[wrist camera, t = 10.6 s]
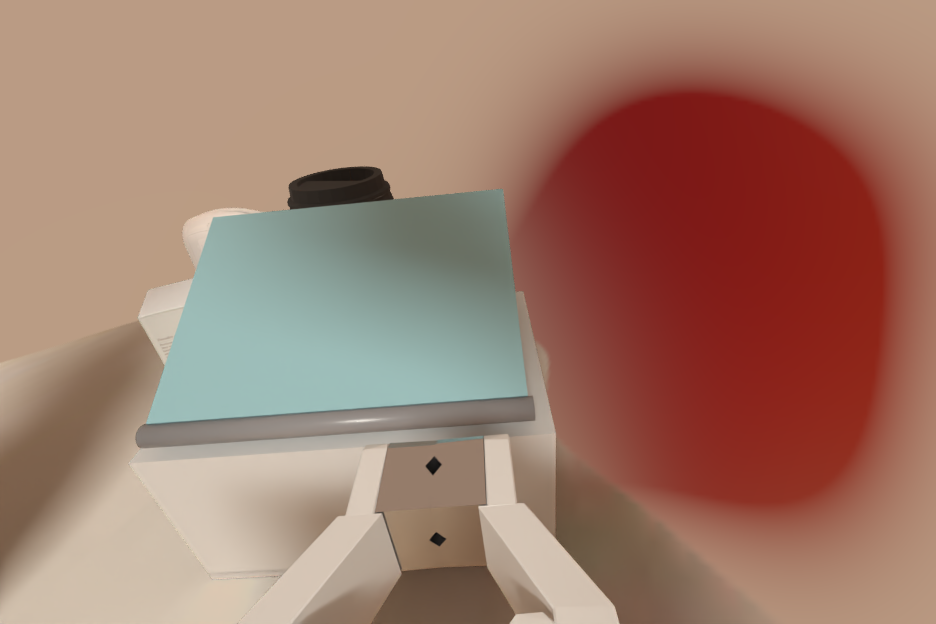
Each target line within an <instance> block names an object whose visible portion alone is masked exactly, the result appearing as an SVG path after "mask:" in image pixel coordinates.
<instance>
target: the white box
mask: <svg viewBox="0 0 936 624" xmlns="http://www.w3.org/2000/svg"><path fill="white" fill-rule="evenodd" d="M515 293H516V302H517V310H518V318H519V326H520V335H521V343H522V351H523V359H524V368H525V376H526V384H527V392H528V396H533V399H534V407H535V421H524V422H510V423H496V424H482V425H468V426H454V427H440V428H426V429H412V430H398V431H384V432H370V433H356V434H342V435H328V436H314V437H300V438H285V439H271V440H257V441H243V442H229V443H215V444H201V445H187V446H173V447H159V448H145V449H142V448H140V450H139V451H138V452H137V453H136V455H135V456H134V457H133V458H132V459H131V461H130V462H129V463H128V464H129V465H130V467H131V468H132V469H133V471H134V472H135V474H136V475H137V476H138V478H139V479H140V481H141V482H142V483H143V485H144V486H145V487H146V489H147V490H148V492H149V493H150V494H151V496H152V497H153V498H154V500H155V501H156V503H157V504H158V505H159V507H160V508H161V510H162V511H163V512H164V514H165V515H166V516H167V518H168V519H169V521H170V522H171V523H172V525H173V526H174V527H175V529H176V530H177V532H178V533H179V534H180V536H181V537H182V539H183V540H184V541H185V543H186V544H187V545H188V547H189V548H190V550H191V551H192V552H193V554H194V555H195V556H196V558H197V559H198V561H199V562H200V563H201V565H202V566H203V568H204V569H205V570H206V572H207V573H208V574H209V576H210V577H211V579H230V578H248V577H267V576H282V575H283V574H284V573H285V572H286V571H287V570H288V569H289V568H290V567H291V566H292V565H293V563H294V562H295V561H296V560H297V559H298V558H299V557H300V556H301V555H302V554H303V553H304V552H305V551H306V550H307V549H308V547H309V546H310V545H311V544H312V543H313V542H314V541H315V540H316V539H317V538H318V537H319V536H320V535H321V534H322V533H323V531H324V530H325V529H326V528H327V527H328V526H329V525H330V524H331V523H332V522H333V521H334V520H335V519H336V518H337V517H338V516H345V514H346V511H347V507H348V503H349V499H350V495H351V492H352V488H353V484H354V480H355V476H356V473H357V469H358V465H359V461H360V457H361V454H362V451H363V449H364V448H365V446H366V445H371V444H389V443H400V442H418V441H437V440H442V439H453V438H464V437H475V436H487V435H499V434H508V435H509V438H510V446H511V455H512V464H513V472H514V481H515V490H516V498H517V503H525V504H526V505H527V506H528V507H529V508H530V510H531V511H532V512H533V513H534V514H535V515H536V516H537V518H538V519H539V520H540V521H541V522H542V523H543V524H544V526H545V527H546V528H547V529H548V530H549V531H550V532H551V534H552V535H553V536H554V537H555V524H556V431H555V427H554V423H553V418H552V414H551V410H550V405H549V401H548V397H547V392H546V388H545V384H544V379H543V375H542V371H541V366H540V362H539V357H538V353H537V349H536V344H535V340H534V336H533V331H532V327H531V323H530V318H529V314H528V310H527V305H526V301H525V297H524V292H523V291H520V292H515Z"/></svg>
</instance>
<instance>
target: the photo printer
mask: <svg viewBox="0 0 936 624" xmlns="http://www.w3.org/2000/svg"><path fill="white" fill-rule="evenodd" d="M252 213H262V212H261V211H257V210H251V209H243V208H221V209H216V210H212V211H208V212H206V213H203V214H201V215H198V216H195V217H193V218H191V219H189V220H188V221H186V222H185V224H184V227H183V232H182V234H183V242H184V245H185V247H186V249H187V251H188V254H189V256H190V258H191V260H192V263H193V265H194V267H195V269H197V265H198V262H199V259H200V256H201V253H202V250H203V247H204V244H205V241H206V238H207V235H208V232H209V229H210V225H211V222H212V219H213V217H221V216H231V215H241V214H252Z"/></svg>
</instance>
